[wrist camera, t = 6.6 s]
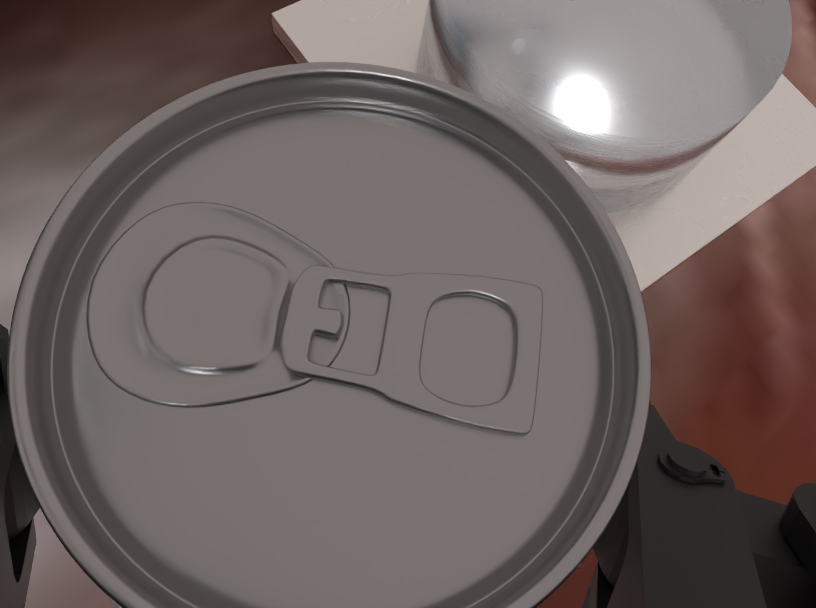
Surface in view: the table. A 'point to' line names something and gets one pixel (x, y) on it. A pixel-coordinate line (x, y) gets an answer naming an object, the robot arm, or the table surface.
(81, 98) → the table surface
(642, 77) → the duct collar
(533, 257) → the can
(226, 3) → the table surface
